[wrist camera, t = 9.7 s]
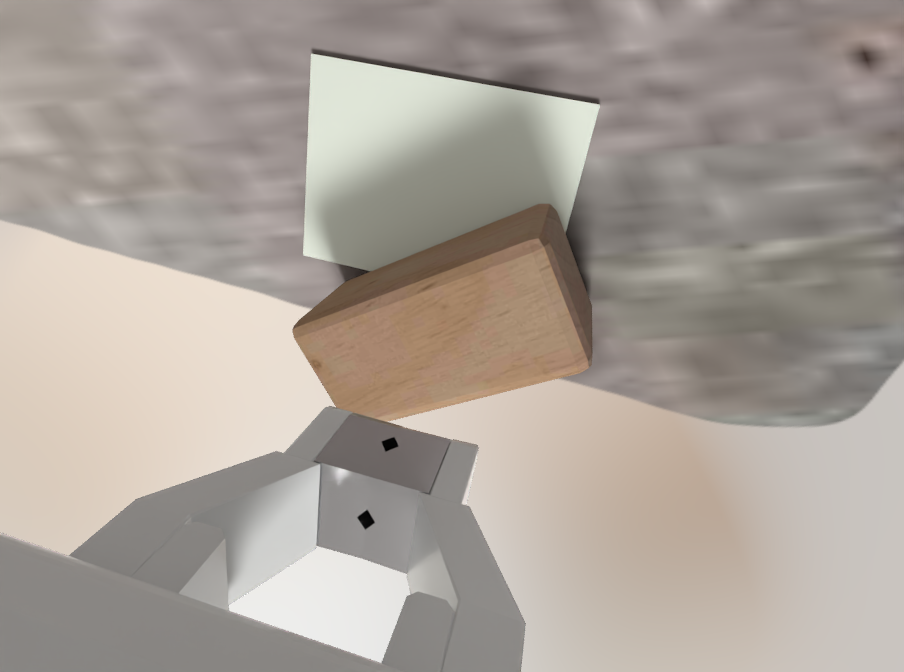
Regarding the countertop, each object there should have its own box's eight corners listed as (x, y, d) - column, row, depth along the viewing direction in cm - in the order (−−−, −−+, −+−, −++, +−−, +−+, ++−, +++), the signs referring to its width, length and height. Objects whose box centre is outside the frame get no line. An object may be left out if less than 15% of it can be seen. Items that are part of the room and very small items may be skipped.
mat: (599, 104, 35) (600, 104, 35) (544, 311, 42) (544, 313, 41) (313, 54, 38) (311, 53, 38) (305, 254, 45) (303, 255, 44)
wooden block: (542, 231, 28) (282, 329, 36) (597, 375, 32) (348, 436, 39) (553, 195, 37) (341, 281, 45) (595, 311, 40) (391, 372, 48)
